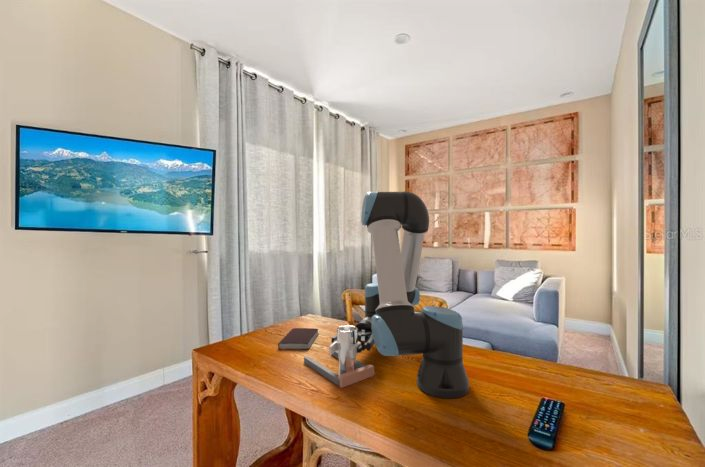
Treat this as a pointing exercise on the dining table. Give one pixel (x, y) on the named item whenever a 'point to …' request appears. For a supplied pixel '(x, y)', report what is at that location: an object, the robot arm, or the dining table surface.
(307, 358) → the guide channel
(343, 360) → the shiny metal tumbler
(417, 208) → the robot arm
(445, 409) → the dining table surface
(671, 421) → the dining table surface
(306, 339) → the book
